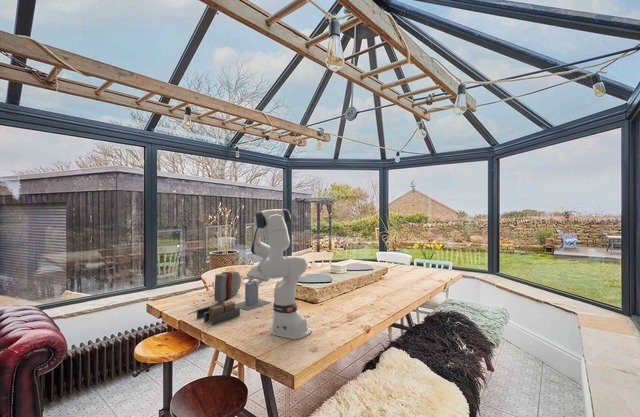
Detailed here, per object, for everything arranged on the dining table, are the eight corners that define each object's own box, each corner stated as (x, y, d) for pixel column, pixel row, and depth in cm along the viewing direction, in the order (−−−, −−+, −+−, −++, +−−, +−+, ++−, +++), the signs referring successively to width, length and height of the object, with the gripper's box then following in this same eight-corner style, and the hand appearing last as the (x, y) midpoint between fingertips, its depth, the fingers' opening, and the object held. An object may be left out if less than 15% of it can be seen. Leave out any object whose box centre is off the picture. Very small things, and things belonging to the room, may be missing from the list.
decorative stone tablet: (222, 274, 200) (242, 269, 229) (213, 274, 201) (235, 269, 230) (221, 303, 198) (241, 294, 227) (212, 302, 199) (233, 294, 229)
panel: (258, 302, 202) (258, 282, 202) (248, 305, 195) (249, 284, 195) (254, 301, 204) (254, 281, 204) (245, 304, 198) (245, 283, 198)
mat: (270, 302, 203) (270, 302, 203) (247, 310, 187) (247, 309, 187) (255, 298, 212) (255, 297, 212) (232, 305, 197) (232, 304, 197)
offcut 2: (235, 315, 177) (235, 302, 177) (225, 319, 172) (225, 305, 172) (231, 314, 180) (231, 301, 180) (221, 317, 174) (221, 304, 174)
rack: (239, 316, 177) (239, 307, 177) (213, 325, 163) (213, 316, 163) (223, 310, 188) (223, 302, 188) (196, 318, 173) (196, 309, 173)
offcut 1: (223, 319, 171) (223, 306, 171) (212, 323, 166) (212, 309, 166) (219, 318, 174) (219, 304, 174) (208, 321, 168) (209, 307, 168)
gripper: (251, 263, 213) (240, 279, 205) (271, 266, 200) (259, 283, 192) (256, 268, 216) (245, 284, 208) (275, 272, 204) (265, 289, 196)
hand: (252, 284), depth 200 cm, fingers open, 7 cm apart
